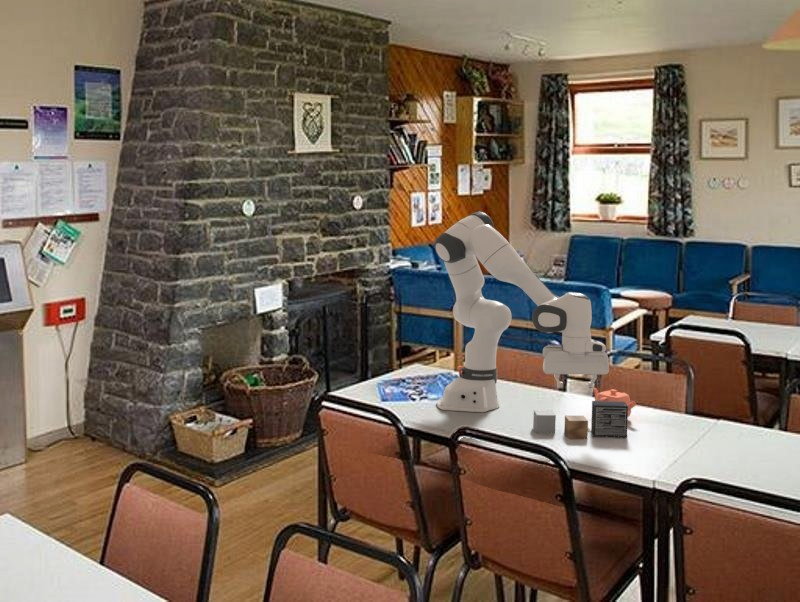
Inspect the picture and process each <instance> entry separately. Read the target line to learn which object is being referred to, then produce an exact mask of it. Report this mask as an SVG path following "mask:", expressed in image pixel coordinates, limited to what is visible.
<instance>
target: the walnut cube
mask: <svg viewBox="0 0 800 602" xmlns="http://www.w3.org/2000/svg"><path fill="white" fill-rule="evenodd" d="M588 426H589V420H588V419H587V418H586V416H585V415H564V433H563V434H564V435H565V437H566V438H567V439H568V440H588V435H589V434H588V432H589V431H588Z"/></svg>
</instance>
